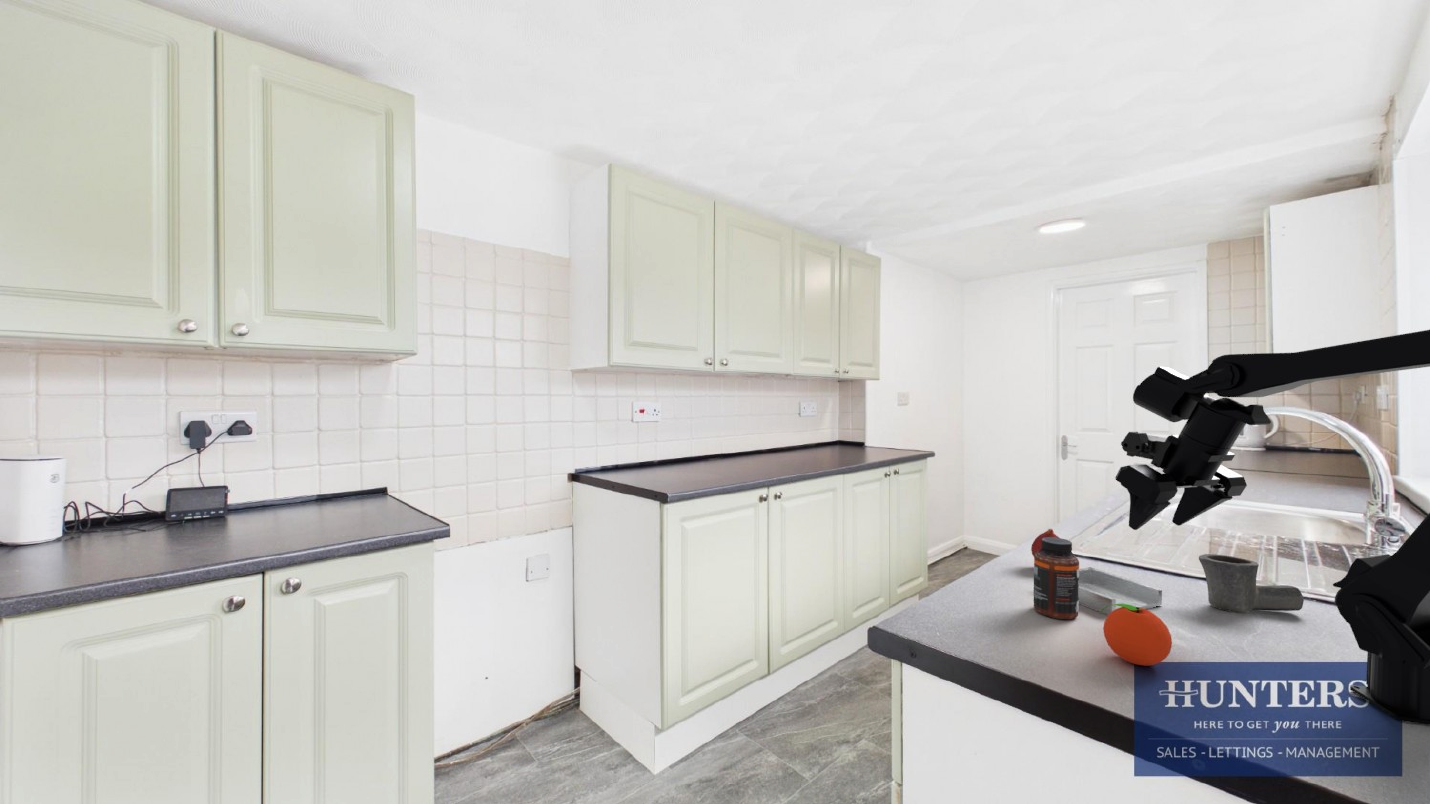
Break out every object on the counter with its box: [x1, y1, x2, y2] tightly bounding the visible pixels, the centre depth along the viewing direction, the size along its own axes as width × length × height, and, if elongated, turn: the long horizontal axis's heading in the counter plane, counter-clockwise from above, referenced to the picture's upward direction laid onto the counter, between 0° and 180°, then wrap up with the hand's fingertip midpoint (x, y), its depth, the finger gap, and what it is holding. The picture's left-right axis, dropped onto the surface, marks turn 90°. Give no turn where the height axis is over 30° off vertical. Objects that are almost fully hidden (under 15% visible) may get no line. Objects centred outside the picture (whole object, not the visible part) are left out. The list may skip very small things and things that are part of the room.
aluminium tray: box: [1079, 567, 1163, 616], centre depth 91 cm, size 12×12×3 cm
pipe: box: [1198, 553, 1305, 613], centre depth 87 cm, size 6×13×8 cm, turn 78°
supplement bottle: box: [1033, 537, 1080, 620], centre depth 85 cm, size 6×6×11 cm
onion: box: [1030, 528, 1060, 557], centre depth 105 cm, size 6×6×8 cm
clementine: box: [1099, 604, 1173, 667], centre depth 71 cm, size 8×7×7 cm
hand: (1154, 526), depth 85 cm, fingers open, 9 cm apart
